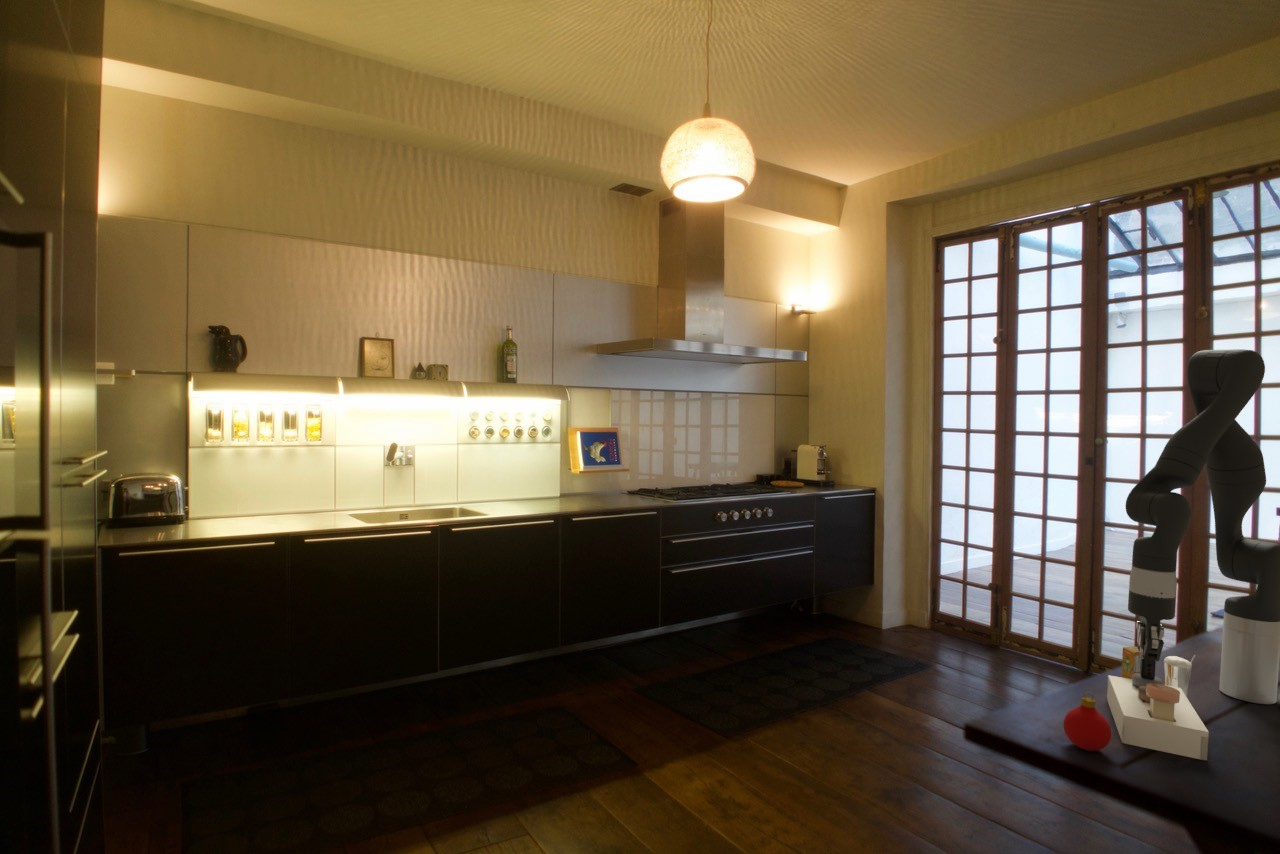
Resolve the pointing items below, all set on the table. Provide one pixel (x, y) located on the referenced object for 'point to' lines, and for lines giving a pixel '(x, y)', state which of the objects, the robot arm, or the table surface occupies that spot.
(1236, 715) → the table surface
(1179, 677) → the milkshake
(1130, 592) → the robot arm
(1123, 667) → the supplement box
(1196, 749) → the knob console
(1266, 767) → the table surface
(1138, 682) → the charcoal knob
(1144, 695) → the walnut knob
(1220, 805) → the table surface
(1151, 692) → the terracotta knob
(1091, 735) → the christmas ornament
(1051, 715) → the table surface
